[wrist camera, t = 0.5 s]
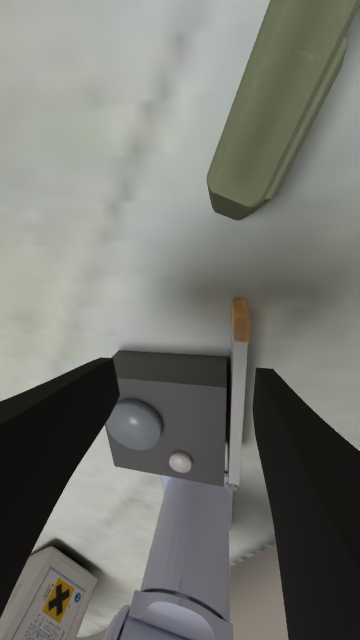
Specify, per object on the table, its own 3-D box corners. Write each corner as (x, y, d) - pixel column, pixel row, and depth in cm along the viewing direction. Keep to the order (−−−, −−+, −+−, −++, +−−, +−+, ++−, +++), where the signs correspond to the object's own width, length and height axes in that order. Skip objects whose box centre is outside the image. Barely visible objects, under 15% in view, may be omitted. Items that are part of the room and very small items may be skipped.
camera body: (224, 443, 21) (223, 497, 16) (132, 430, 23) (110, 474, 18) (226, 356, 17) (226, 395, 13) (118, 350, 19) (86, 382, 15)
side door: (236, 447, 20) (239, 492, 17) (227, 445, 20) (227, 490, 17) (244, 299, 15) (250, 318, 11) (232, 299, 15) (233, 317, 12)
